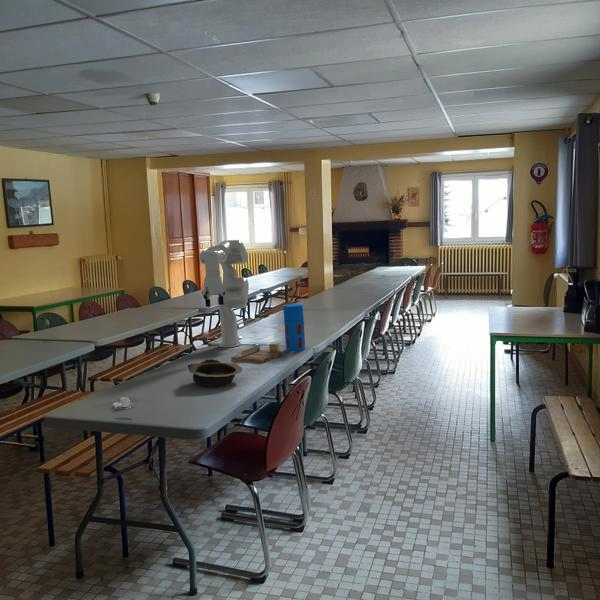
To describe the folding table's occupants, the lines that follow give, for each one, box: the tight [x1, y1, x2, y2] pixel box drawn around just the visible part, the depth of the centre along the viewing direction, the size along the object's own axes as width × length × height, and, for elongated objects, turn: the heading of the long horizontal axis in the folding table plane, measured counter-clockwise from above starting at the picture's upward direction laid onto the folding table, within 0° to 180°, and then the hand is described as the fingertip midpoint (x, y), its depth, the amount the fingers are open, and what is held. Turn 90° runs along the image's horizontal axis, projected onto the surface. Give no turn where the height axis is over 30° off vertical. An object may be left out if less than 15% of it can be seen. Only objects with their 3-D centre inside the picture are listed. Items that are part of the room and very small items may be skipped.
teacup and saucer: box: [112, 396, 131, 408], centre depth 238 cm, size 9×8×4 cm
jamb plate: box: [230, 349, 285, 365], centre depth 314 cm, size 20×20×2 cm
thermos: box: [283, 303, 306, 353], centre depth 328 cm, size 11×11×25 cm
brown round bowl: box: [187, 358, 243, 388], centre depth 267 cm, size 25×25×9 cm
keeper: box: [268, 342, 280, 352], centre depth 318 cm, size 2×5×4 cm, turn 59°
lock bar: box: [236, 343, 261, 357], centre depth 315 cm, size 17×4×4 cm, turn 150°
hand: (214, 305), depth 319 cm, fingers open, 9 cm apart
